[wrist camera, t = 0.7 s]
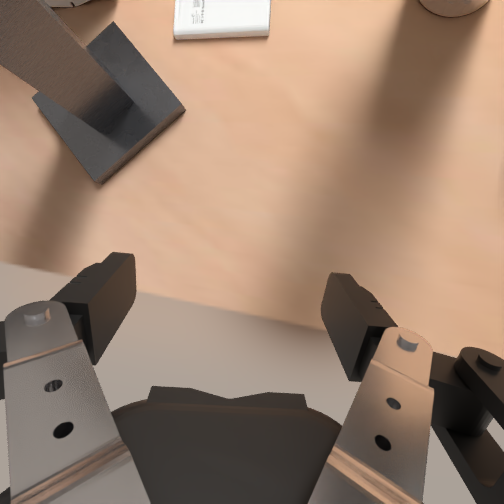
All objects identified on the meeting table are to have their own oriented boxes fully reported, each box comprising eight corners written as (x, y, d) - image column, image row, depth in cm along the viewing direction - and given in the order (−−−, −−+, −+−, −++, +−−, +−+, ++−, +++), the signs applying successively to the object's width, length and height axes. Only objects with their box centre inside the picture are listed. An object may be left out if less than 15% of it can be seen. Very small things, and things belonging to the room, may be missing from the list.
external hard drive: (269, 39, 37) (177, 43, 38) (273, -23, 37) (181, -17, 39) (268, 29, 35) (172, 33, 37) (272, -35, 35) (176, -29, 37)
